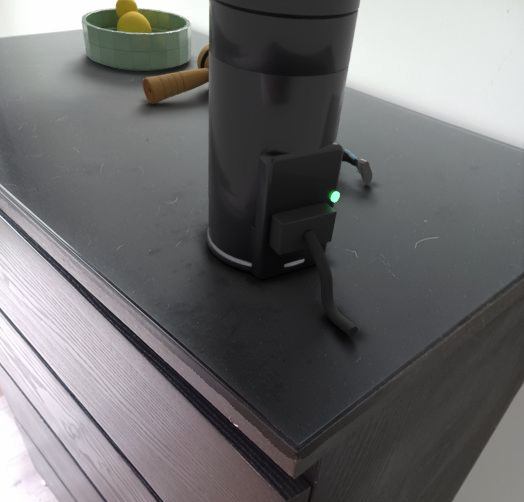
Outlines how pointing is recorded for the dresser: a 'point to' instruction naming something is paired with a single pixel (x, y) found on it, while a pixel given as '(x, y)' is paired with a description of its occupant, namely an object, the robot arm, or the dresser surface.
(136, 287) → the dresser surface
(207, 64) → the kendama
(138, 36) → the bowl
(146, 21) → the yellow lemon
